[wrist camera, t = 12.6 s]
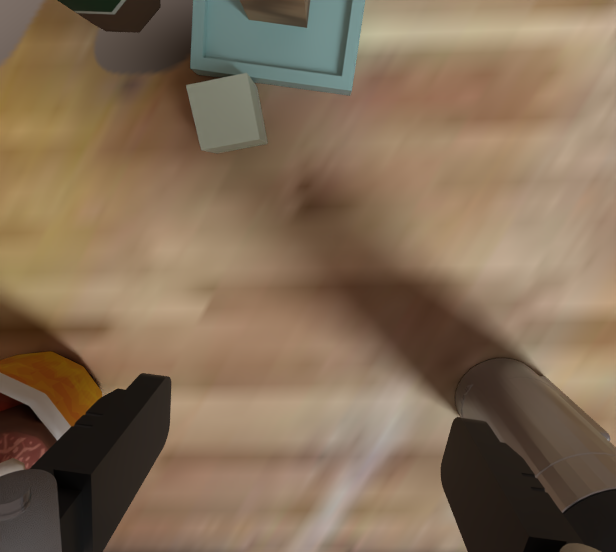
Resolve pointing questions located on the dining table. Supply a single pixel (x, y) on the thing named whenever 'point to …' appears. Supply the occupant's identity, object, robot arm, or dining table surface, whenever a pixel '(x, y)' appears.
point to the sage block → (227, 113)
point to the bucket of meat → (39, 405)
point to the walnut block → (278, 11)
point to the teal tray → (279, 45)
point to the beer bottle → (115, 13)
